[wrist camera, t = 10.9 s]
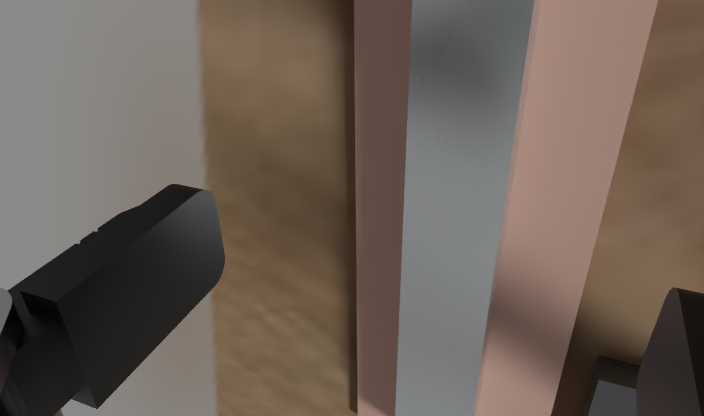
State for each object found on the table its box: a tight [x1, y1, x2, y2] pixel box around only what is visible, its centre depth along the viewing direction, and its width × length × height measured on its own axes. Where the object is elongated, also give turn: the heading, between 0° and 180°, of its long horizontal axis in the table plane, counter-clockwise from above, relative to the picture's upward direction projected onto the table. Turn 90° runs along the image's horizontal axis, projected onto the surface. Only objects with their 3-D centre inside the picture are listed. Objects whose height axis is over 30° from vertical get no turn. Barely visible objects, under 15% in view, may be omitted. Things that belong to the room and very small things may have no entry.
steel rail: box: [395, 0, 541, 416], centre depth 14 cm, size 24×2×2 cm, turn 1°
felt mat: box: [354, 0, 658, 416], centre depth 15 cm, size 26×7×1 cm, turn 1°
